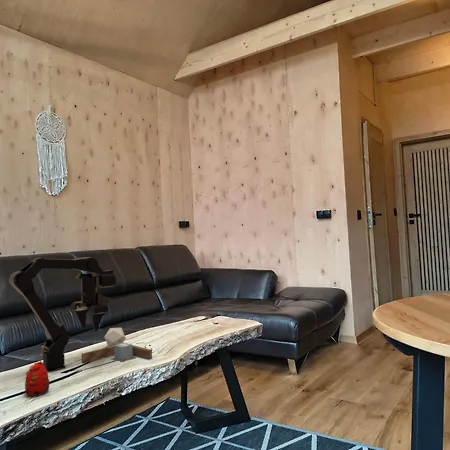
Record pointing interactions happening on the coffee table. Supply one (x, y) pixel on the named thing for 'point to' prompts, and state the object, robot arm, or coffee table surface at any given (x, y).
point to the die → (115, 336)
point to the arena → (110, 352)
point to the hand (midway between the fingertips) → (90, 329)
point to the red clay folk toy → (37, 379)
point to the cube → (123, 351)
